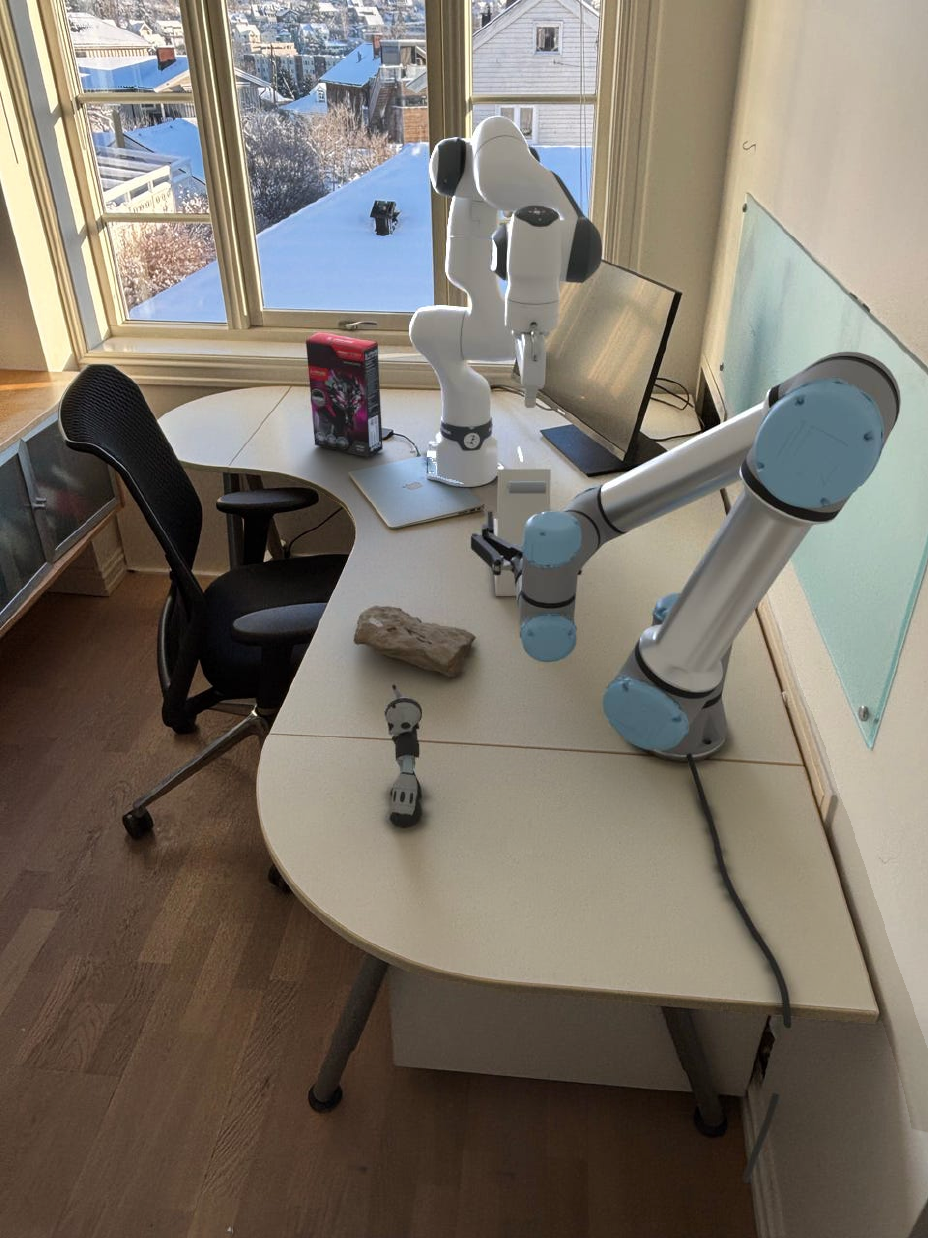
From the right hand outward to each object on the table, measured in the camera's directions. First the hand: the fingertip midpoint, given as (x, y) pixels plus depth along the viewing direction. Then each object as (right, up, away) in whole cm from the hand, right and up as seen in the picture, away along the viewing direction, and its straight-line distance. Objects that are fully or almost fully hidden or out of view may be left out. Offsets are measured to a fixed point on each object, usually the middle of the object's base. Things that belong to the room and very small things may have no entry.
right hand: (530, 518), depth 154 cm
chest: (0, -8, +27) cm, 28 cm away
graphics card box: (-40, +26, +78) cm, 91 cm away
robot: (-19, -43, -25) cm, 53 cm away
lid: (0, +3, +15) cm, 15 cm away
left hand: (0, +22, +5) cm, 22 cm away
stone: (-21, -23, +5) cm, 31 cm away
